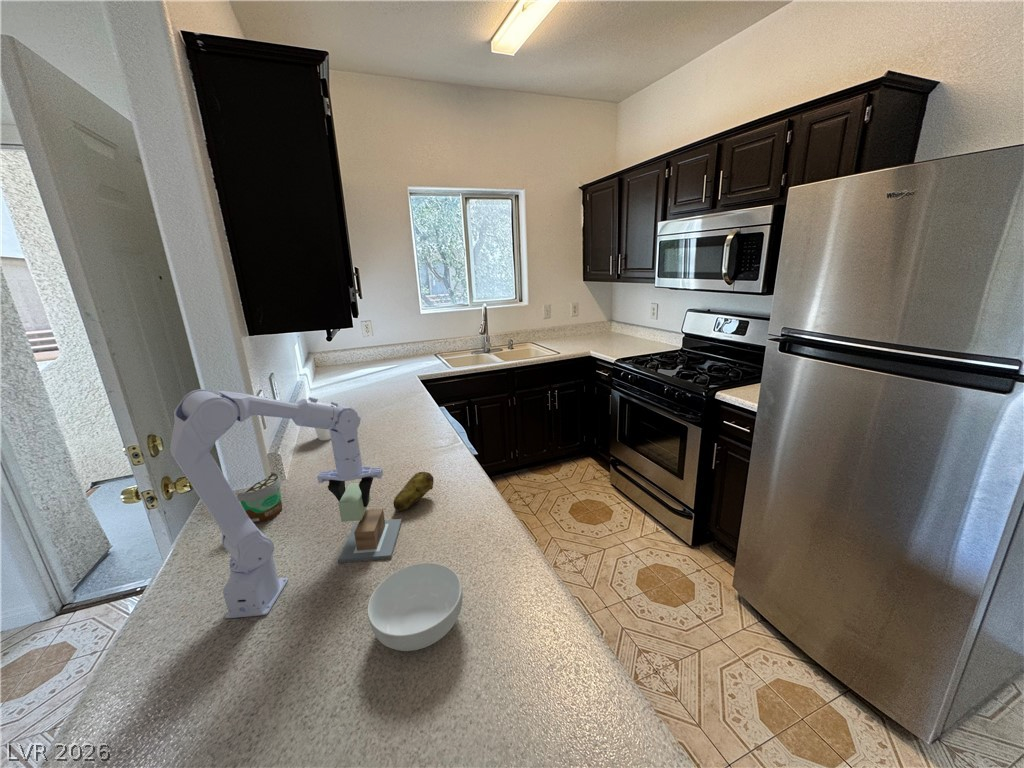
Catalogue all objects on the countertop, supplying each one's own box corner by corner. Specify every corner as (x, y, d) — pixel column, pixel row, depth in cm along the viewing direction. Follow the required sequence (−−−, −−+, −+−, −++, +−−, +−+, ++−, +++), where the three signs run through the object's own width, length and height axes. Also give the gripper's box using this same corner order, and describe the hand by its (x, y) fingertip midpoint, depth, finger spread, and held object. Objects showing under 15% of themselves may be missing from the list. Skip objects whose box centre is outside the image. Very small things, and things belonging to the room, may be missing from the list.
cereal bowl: (426, 577, 86) (423, 550, 84) (482, 617, 76) (480, 587, 74) (354, 632, 73) (348, 601, 71) (409, 688, 63) (404, 654, 61)
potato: (387, 503, 114) (384, 478, 111) (429, 488, 121) (427, 465, 118) (397, 517, 107) (394, 491, 105) (441, 501, 114) (439, 476, 112)
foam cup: (314, 435, 164) (309, 405, 160) (338, 430, 168) (333, 401, 164) (314, 443, 156) (308, 412, 152) (339, 439, 159) (334, 408, 156)
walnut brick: (376, 549, 94) (373, 531, 92) (357, 550, 93) (354, 532, 92) (385, 525, 102) (382, 508, 101) (367, 526, 102) (364, 510, 101)
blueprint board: (391, 558, 92) (390, 555, 92) (338, 562, 91) (337, 559, 91) (402, 521, 105) (401, 518, 105) (355, 525, 104) (355, 522, 104)
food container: (263, 529, 104) (255, 496, 101) (244, 527, 105) (235, 494, 102) (297, 503, 115) (290, 472, 113) (279, 501, 117) (272, 470, 114)
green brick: (361, 520, 93) (358, 501, 92) (341, 521, 93) (338, 503, 91) (370, 499, 102) (368, 481, 100) (352, 500, 101) (349, 483, 100)
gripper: (382, 445, 97) (389, 494, 101) (321, 449, 96) (330, 498, 100) (376, 458, 91) (383, 510, 94) (310, 463, 89) (320, 515, 93)
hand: (355, 505), depth 97 cm, fingers closed on green brick, 4 cm apart
